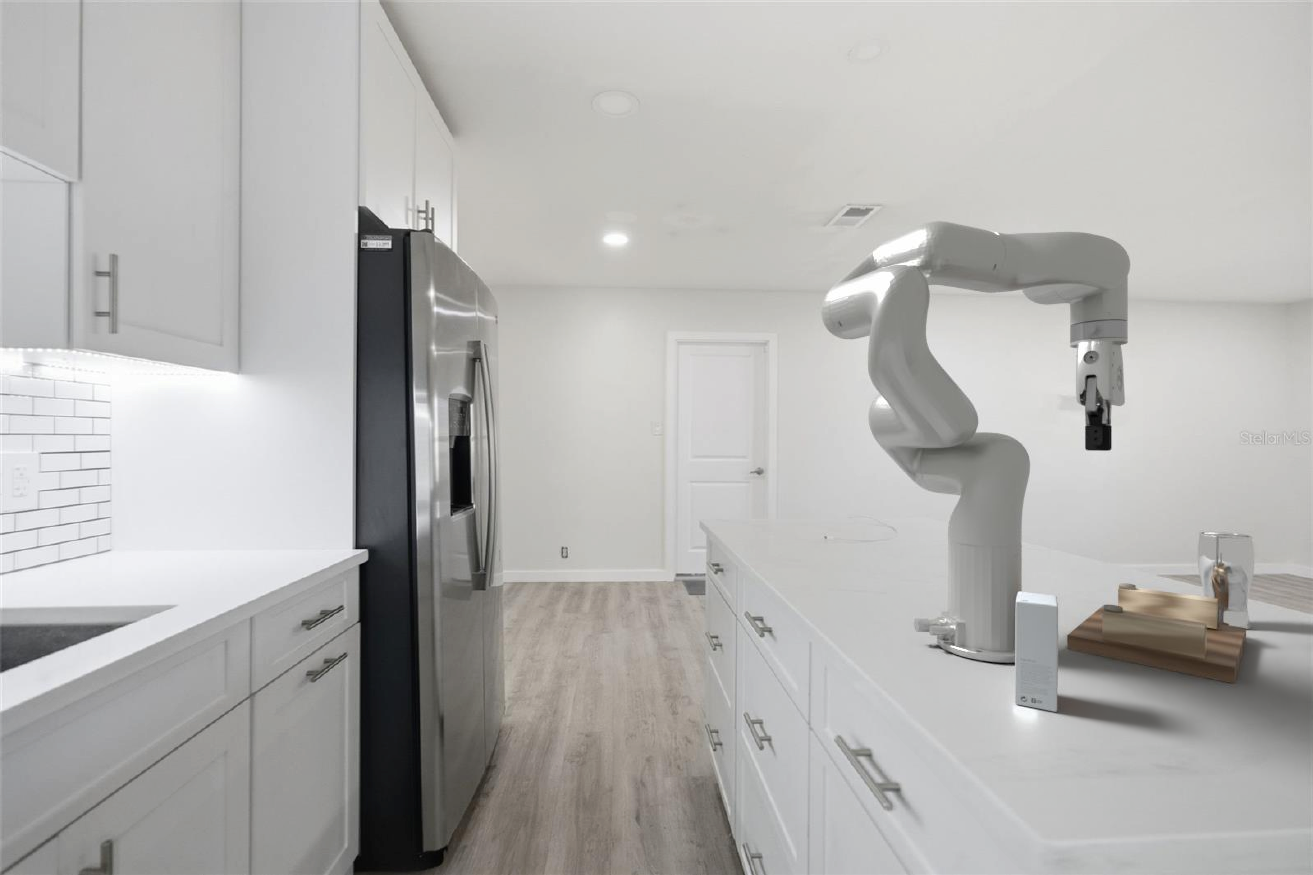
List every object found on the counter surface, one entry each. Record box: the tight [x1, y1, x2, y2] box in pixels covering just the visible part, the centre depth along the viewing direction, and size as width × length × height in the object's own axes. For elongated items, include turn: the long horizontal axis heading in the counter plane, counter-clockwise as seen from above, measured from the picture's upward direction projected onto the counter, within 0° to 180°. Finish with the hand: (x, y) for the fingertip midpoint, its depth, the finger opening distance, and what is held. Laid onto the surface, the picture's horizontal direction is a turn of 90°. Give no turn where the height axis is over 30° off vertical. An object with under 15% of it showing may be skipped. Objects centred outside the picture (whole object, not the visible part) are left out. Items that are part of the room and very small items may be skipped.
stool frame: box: [1066, 604, 1247, 684], centre depth 93 cm, size 24×18×7 cm
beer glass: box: [1197, 531, 1255, 630], centre depth 104 cm, size 7×7×15 cm
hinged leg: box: [1117, 582, 1218, 629], centre depth 99 cm, size 12×3×5 cm, turn 45°
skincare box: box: [1014, 591, 1059, 713], centre depth 73 cm, size 6×4×12 cm
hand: (1098, 450), depth 99 cm, fingers closed
